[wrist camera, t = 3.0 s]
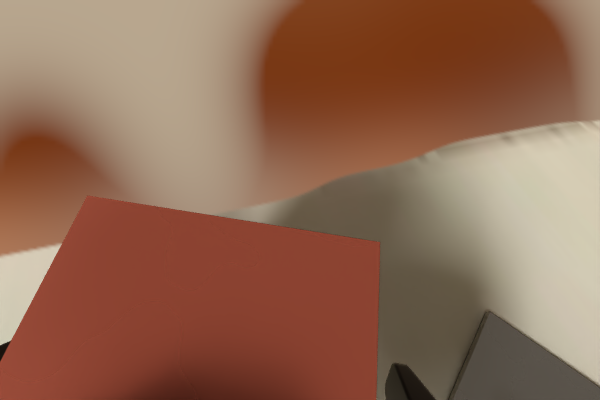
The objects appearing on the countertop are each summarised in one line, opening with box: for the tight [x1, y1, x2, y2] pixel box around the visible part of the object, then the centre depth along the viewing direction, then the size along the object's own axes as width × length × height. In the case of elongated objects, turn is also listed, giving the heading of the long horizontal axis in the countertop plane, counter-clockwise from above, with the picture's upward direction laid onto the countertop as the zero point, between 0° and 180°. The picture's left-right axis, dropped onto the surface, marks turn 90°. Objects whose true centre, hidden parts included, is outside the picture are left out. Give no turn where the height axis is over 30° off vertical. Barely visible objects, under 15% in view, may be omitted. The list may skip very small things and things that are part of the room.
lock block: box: [0, 196, 380, 400], centre depth 10 cm, size 5×5×13 cm
